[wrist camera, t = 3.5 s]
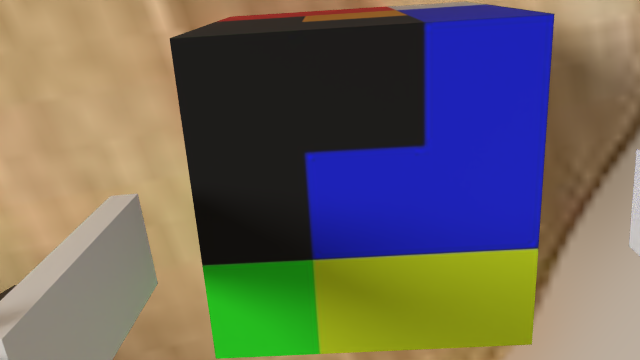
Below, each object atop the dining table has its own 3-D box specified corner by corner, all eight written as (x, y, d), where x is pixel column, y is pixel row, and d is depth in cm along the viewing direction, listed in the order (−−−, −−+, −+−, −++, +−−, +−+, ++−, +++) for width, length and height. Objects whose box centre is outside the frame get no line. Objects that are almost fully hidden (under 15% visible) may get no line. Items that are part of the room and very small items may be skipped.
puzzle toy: (465, 1, 24) (554, 13, 15) (461, 219, 27) (531, 344, 18) (230, 16, 24) (169, 38, 15) (254, 230, 28) (216, 358, 18)
